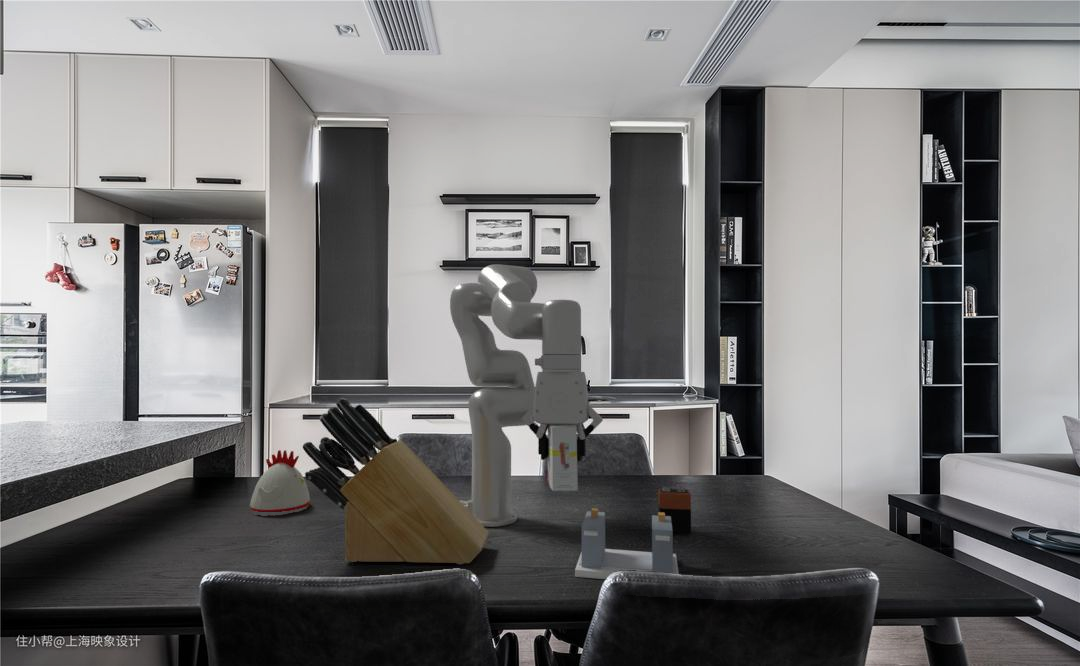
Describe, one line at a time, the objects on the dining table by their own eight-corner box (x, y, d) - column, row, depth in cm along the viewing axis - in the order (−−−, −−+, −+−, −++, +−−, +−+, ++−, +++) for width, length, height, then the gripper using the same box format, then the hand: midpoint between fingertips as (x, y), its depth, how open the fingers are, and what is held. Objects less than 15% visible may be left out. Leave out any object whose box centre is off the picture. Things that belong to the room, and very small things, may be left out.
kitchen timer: (294, 516, 132) (296, 455, 133) (238, 516, 132) (240, 454, 133) (318, 502, 146) (319, 446, 147) (267, 501, 146) (269, 446, 147)
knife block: (322, 543, 113) (325, 394, 114) (489, 547, 111) (491, 396, 113) (295, 563, 101) (299, 398, 103) (481, 567, 100) (482, 399, 101)
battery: (691, 535, 119) (691, 489, 119) (660, 534, 120) (659, 488, 120) (688, 529, 123) (688, 485, 124) (658, 528, 124) (657, 484, 125)
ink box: (546, 481, 106) (546, 421, 107) (571, 481, 106) (571, 420, 107) (551, 491, 98) (551, 425, 98) (578, 491, 98) (577, 425, 99)
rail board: (574, 576, 96) (574, 520, 96) (583, 553, 107) (583, 502, 108) (679, 585, 92) (678, 526, 93) (676, 560, 104) (675, 508, 104)
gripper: (513, 364, 102) (512, 460, 101) (604, 364, 98) (605, 464, 97) (523, 364, 109) (523, 454, 108) (608, 364, 105) (609, 457, 104)
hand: (561, 458), depth 102 cm, fingers closed on ink box, 6 cm apart
